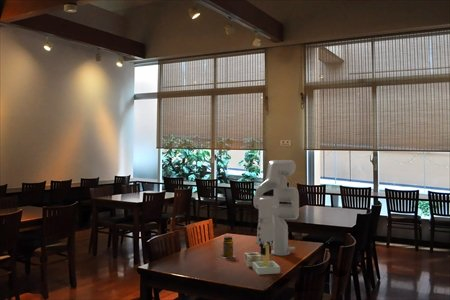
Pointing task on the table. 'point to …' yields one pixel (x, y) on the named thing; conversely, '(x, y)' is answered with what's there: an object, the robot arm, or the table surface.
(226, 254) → the condiment
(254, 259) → the socket block
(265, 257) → the dowel
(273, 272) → the tray
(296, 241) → the table surface
